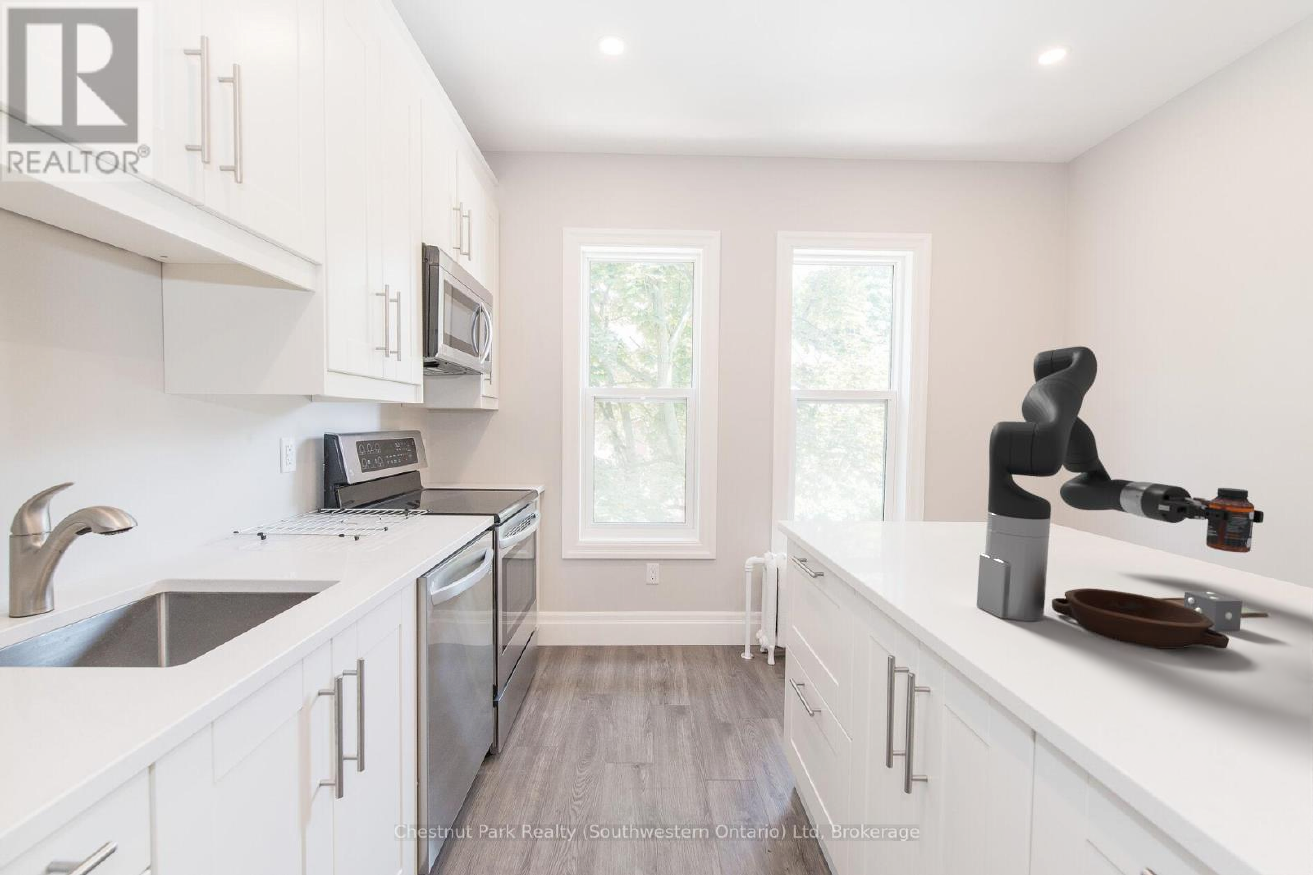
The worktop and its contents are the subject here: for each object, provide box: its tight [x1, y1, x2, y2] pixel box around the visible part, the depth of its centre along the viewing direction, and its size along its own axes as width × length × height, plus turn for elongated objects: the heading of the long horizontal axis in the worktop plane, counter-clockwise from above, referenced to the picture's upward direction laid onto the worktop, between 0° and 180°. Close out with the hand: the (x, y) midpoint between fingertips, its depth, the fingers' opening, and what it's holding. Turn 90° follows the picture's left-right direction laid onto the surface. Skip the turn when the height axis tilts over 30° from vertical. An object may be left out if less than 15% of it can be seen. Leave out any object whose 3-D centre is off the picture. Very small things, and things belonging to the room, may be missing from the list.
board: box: [1157, 597, 1269, 618], centre depth 107 cm, size 21×9×1 cm, turn 98°
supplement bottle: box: [1205, 487, 1255, 554], centre depth 107 cm, size 6×6×11 cm
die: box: [1183, 590, 1243, 632], centre depth 98 cm, size 5×5×5 cm
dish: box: [1051, 587, 1230, 649], centre depth 93 cm, size 18×22×5 cm
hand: (1246, 517), depth 104 cm, fingers closed on supplement bottle, 6 cm apart
